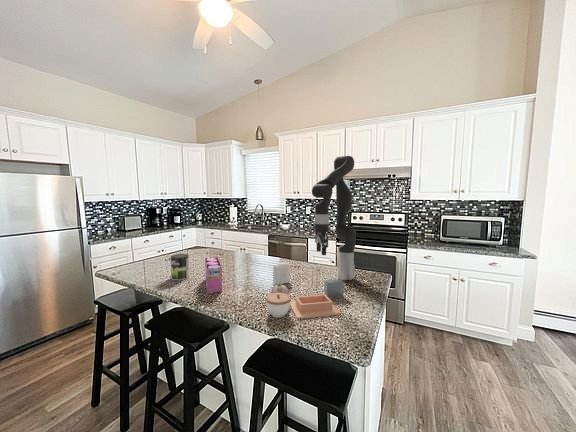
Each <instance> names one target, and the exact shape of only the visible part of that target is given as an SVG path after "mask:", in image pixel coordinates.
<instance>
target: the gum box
mask: <svg viewBox="0 0 576 432" xmlns="http://www.w3.org/2000/svg"><path fill="white" fill-rule="evenodd" d="M204 259H205V260H204V266H205V267H204V268H205V272H204V273H205V284H206V292H207V294H209V292H212V293H219V291H220V292H222V291H223V269H222V265H221V262H220V259H219V257H217V256H216V257H215V258H208V257H206V258H204Z"/></svg>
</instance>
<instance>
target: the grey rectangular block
mask: <svg viewBox="0 0 576 432" xmlns="http://www.w3.org/2000/svg"><path fill="white" fill-rule="evenodd" d="M323 282H324V283H323V284H324V287H323V289H324V290H323V295H324V294H326V295H327V297H328V298H329V299H333V298H344V289H345V287H344V286H345V285H344V284H345V282H344V280H341V279H339V278H338V279H325V280H324V281H323Z"/></svg>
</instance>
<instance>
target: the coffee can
mask: <svg viewBox="0 0 576 432" xmlns="http://www.w3.org/2000/svg"><path fill="white" fill-rule="evenodd" d="M189 257H190V256H189V254H188V253H178V254H177V253H176V254H173V255H171V256H170V274H171V275H170V276H171V278H170V279H171V280H172V281H175V280H179V281H184V279H185V280H187V279H189V278H190V276H189V275H190V274H189V272H190V270H189V262H190V261H189Z"/></svg>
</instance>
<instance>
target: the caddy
mask: <svg viewBox="0 0 576 432" xmlns="http://www.w3.org/2000/svg"><path fill="white" fill-rule="evenodd" d="M289 308H290V309H291V310H292V313H293V315H294V316H295V318H296V320H300V319H310V318H311V319H312V318H321V317H329V316H339V315H341V314H342V312H341V311H340V310H339V309H338V308H337V306H335V304H334V302H333V301H332V300H331V298H328V297H327V295H326V294H324V293H323V294H314V295H303V296H295V300H292V301H291V300H290V307H289Z"/></svg>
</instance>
